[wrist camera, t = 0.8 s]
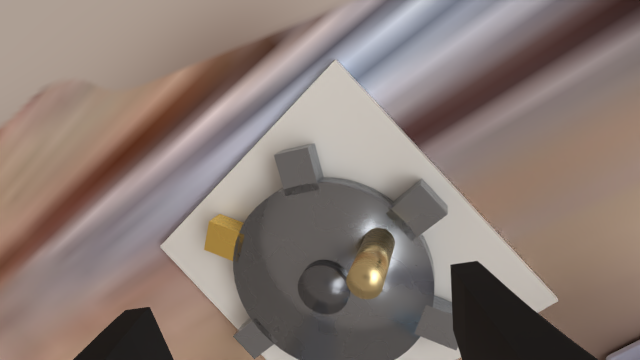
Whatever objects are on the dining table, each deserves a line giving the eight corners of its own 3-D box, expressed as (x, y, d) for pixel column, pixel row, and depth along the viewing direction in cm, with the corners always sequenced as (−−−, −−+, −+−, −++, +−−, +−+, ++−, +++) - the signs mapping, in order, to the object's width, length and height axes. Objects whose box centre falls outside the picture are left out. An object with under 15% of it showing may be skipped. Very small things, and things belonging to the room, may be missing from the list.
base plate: (556, 296, 25) (558, 300, 24) (334, 425, 32) (332, 430, 32) (337, 59, 25) (334, 59, 24) (164, 243, 32) (159, 246, 32)
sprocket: (528, 292, 25) (553, 364, 19) (326, 414, 31) (298, 494, 26) (340, 90, 24) (308, 101, 19) (177, 256, 31) (117, 301, 25)
